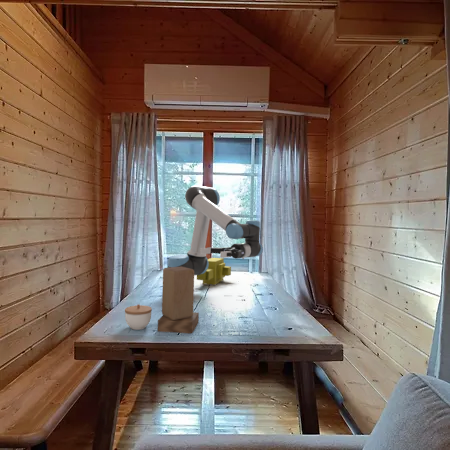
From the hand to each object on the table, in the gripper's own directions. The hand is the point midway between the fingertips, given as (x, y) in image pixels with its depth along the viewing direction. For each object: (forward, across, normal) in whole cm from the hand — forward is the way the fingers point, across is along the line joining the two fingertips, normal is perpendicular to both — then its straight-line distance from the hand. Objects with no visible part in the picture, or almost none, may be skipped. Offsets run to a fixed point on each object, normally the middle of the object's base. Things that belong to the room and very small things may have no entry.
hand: (210, 253), depth 159 cm
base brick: (+20, -3, -30) cm, 36 cm away
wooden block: (+21, -3, -25) cm, 33 cm away
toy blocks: (-59, +53, -31) cm, 85 cm away
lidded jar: (+32, +8, -30) cm, 45 cm away
